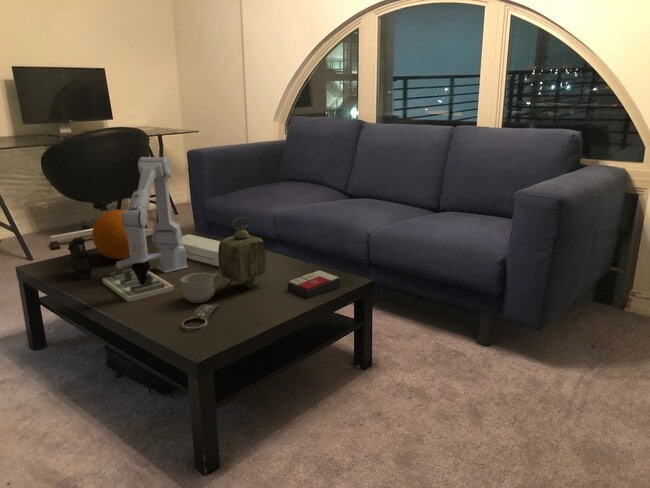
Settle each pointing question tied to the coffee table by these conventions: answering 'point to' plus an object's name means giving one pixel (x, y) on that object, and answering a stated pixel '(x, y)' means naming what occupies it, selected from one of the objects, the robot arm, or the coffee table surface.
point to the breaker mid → (127, 275)
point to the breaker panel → (136, 286)
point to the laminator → (201, 249)
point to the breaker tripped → (148, 280)
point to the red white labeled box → (314, 284)
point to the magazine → (80, 258)
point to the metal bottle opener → (199, 317)
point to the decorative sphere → (111, 235)
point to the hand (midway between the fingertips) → (142, 283)
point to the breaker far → (117, 270)
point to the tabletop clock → (241, 256)
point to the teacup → (199, 286)
